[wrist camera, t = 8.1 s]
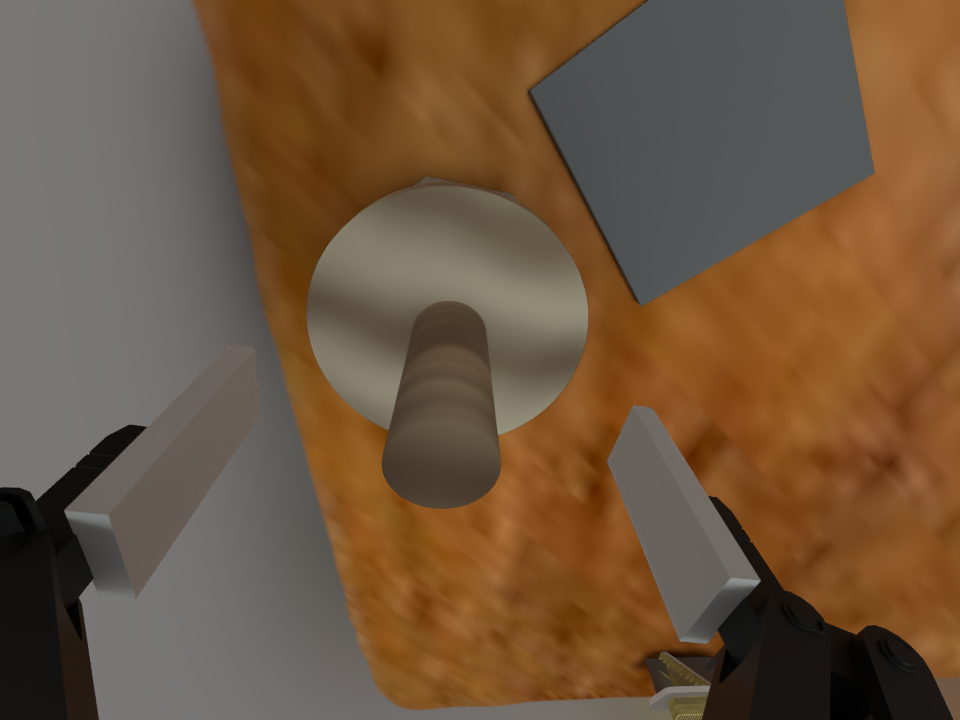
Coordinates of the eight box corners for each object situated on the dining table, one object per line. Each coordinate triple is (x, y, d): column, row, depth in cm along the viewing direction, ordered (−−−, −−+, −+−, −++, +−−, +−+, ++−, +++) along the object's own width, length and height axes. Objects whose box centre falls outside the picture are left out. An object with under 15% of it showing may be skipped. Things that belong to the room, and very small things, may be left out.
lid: (318, 152, 18) (170, 189, 9) (618, 215, 20) (752, 300, 11) (314, 408, 25) (226, 582, 15) (541, 438, 26) (583, 612, 17)
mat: (528, 90, 22) (530, 90, 21) (806, -121, 19) (819, -130, 18) (637, 301, 28) (641, 306, 27) (863, 171, 25) (874, 173, 24)
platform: (611, 623, 47) (632, 692, 42) (769, 619, 48) (811, 687, 42) (594, 677, 53) (610, 745, 48) (735, 673, 54) (767, 739, 48)
